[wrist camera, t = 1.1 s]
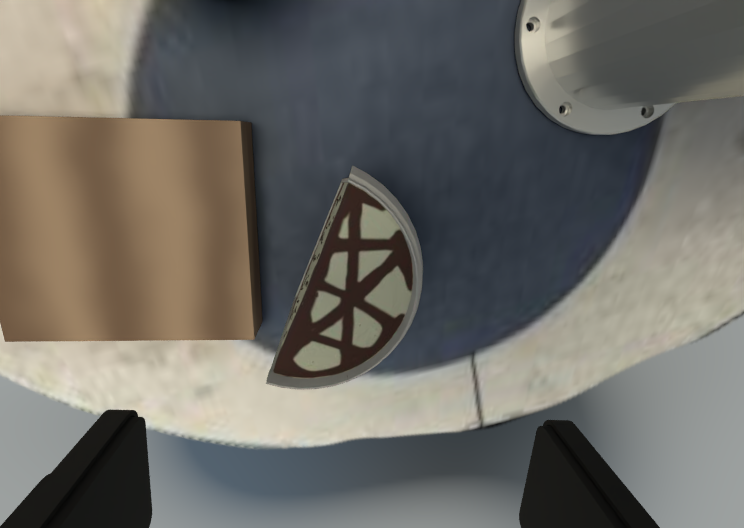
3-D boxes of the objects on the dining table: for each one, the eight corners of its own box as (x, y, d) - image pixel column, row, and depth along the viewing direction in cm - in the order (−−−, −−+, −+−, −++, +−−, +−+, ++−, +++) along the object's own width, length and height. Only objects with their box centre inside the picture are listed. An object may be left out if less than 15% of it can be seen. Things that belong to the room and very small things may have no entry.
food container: (363, 343, 33) (371, 427, 23) (287, 315, 32) (262, 392, 22) (432, 193, 30) (473, 220, 20) (350, 158, 29) (352, 168, 19)
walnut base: (251, 122, 28) (240, 120, 25) (262, 321, 32) (254, 339, 29) (-9, 116, 27) (-51, 114, 24) (36, 322, 31) (4, 341, 28)
